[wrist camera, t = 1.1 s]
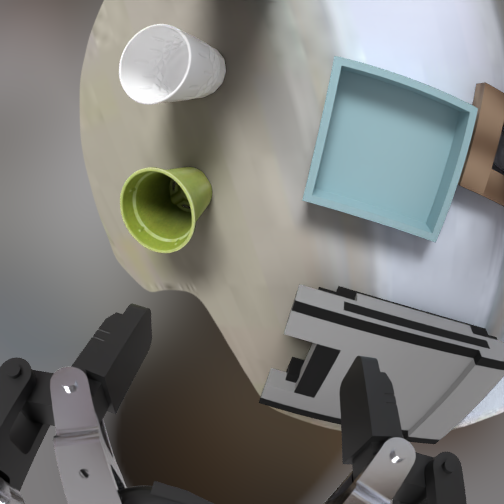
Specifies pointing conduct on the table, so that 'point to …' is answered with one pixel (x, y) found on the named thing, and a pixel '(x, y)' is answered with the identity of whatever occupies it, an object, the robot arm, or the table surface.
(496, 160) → the bottle with dark cap
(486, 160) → the brown square frame
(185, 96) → the white cup
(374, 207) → the parts tray
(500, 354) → the game console
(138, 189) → the plant pot
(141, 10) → the table surface
